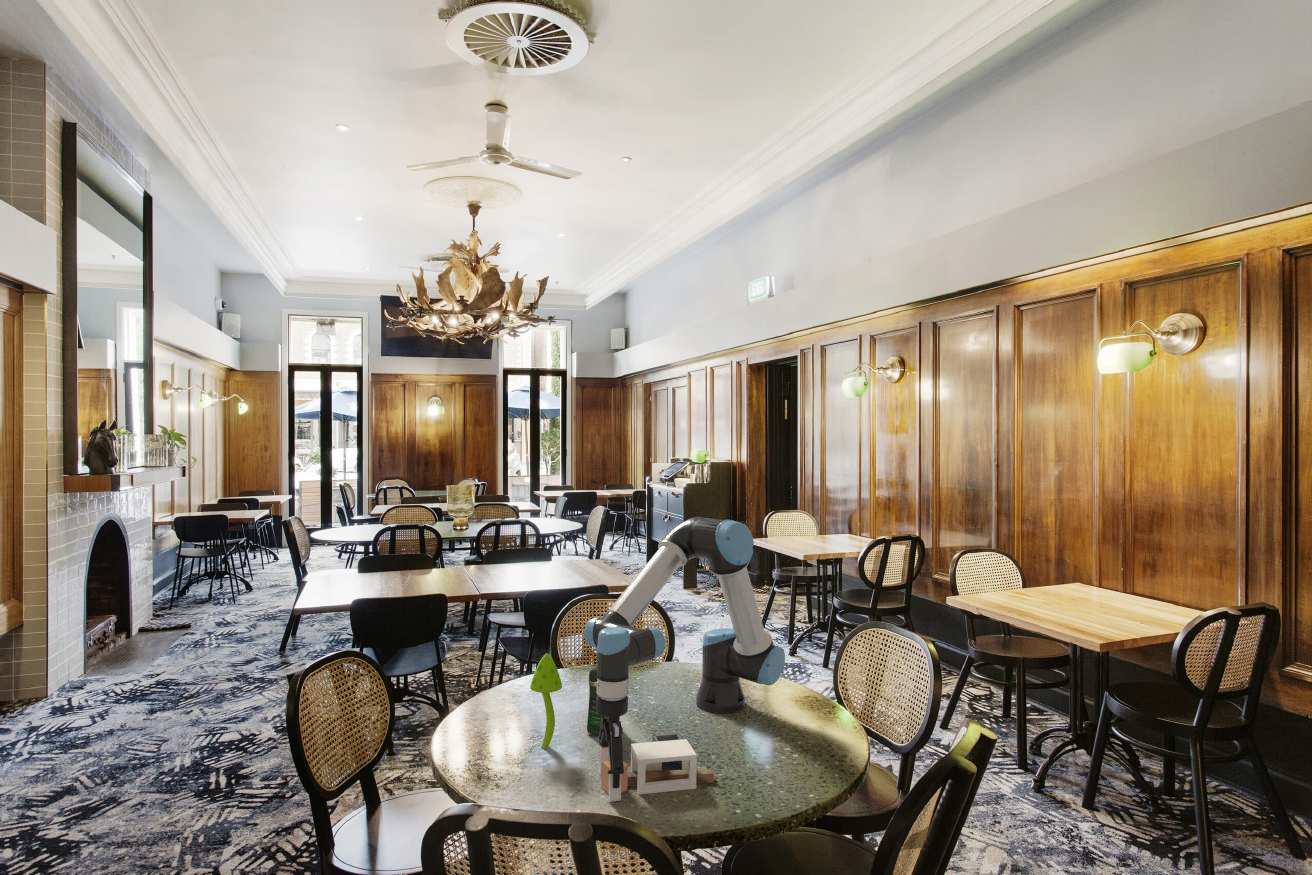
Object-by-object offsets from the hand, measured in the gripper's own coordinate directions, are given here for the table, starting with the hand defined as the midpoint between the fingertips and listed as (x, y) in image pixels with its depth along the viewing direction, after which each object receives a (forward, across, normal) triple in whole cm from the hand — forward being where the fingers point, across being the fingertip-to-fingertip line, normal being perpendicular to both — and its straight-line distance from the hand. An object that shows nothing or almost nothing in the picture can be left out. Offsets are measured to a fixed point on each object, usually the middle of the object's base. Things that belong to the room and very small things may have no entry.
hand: (609, 786), depth 167 cm
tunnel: (0, -3, +13) cm, 13 cm away
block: (0, +1, +1) cm, 1 cm away
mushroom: (0, -25, -13) cm, 28 cm away
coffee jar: (0, -32, +4) cm, 32 cm away
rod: (0, 0, +14) cm, 14 cm away
